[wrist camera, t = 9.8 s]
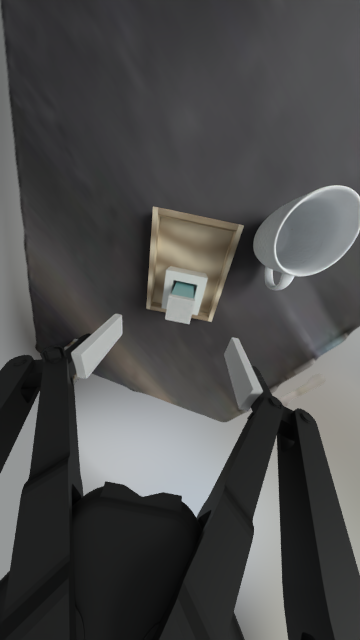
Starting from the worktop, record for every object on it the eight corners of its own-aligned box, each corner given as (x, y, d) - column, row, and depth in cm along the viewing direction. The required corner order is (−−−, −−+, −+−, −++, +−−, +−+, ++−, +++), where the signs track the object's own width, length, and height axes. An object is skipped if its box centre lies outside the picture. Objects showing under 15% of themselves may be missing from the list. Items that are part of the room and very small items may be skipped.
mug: (282, 282, 35) (326, 300, 23) (237, 282, 36) (258, 299, 24) (307, 207, 28) (387, 180, 16) (250, 210, 29) (287, 186, 17)
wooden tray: (157, 210, 30) (153, 206, 27) (238, 227, 30) (244, 225, 27) (150, 303, 41) (146, 308, 37) (209, 315, 41) (211, 321, 37)
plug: (176, 279, 33) (168, 296, 22) (194, 283, 33) (195, 301, 22) (173, 297, 35) (165, 319, 24) (190, 300, 35) (189, 324, 24)
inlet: (170, 265, 34) (166, 269, 29) (205, 273, 34) (207, 278, 29) (165, 299, 39) (161, 308, 33) (197, 305, 39) (197, 315, 33)
